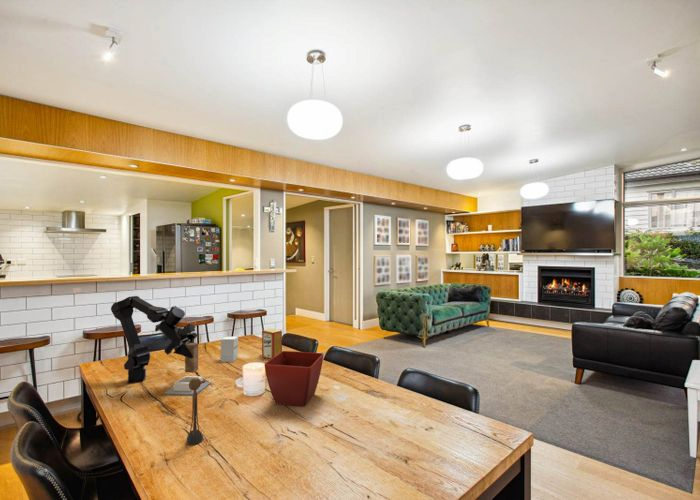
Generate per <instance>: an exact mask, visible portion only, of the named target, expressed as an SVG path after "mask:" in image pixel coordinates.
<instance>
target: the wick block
mask: <svg viewBox="0 0 700 500" xmlns="http://www.w3.org/2000/svg"><path fill="white" fill-rule="evenodd" d="M186 348H187V349H188V350H189V351H190V353H191V354H192V356H193V357H192V358H188V357H185V356H184V361H185V362H184V372H185V373H196V372H197V371H198V370H199V343H198V342H194V343H189V344H187V345H186Z"/></svg>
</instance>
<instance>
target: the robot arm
mask: <svg viewBox="0 0 700 500" xmlns="http://www.w3.org/2000/svg"><path fill="white" fill-rule="evenodd" d="M134 309H136V310H138V311H140V312H141V313H143V314H145V316H146V318H147V319H148V320H149V321H150V322H151V323H153V324H154V323H158V324H156V325H155V329H154V331H155V332H158V331H160V332H161V333H162V334H163V335H164V336H165V339H164V340H166V341H168V340H169V341H170V343H168V345H167V346H166V347H165V348H164V353H165V354H166V355H171V354H176V355H180V356H182V357H184V358H185V357H188V358H192V357H193V356H192V354H191V353H190V351H189V350H188V349H187V348H186V345H187V344H189V343H195V339H197V337H198V335H199V334H197V333H196V325H195V324H194V323H192V322H191V323H188V324H186V326H185V327H184V328H182V327H177V325H178V324H179V323H180V322H181V321H182V320H183V318H184V317H185V316H186V312H185V311H184V310H183V309H182V308H180V307H178V306H176V305H173V306H171V308H170V309H169V310H168V309H167V308H165V307H162V306H156V305H153V304H151V303H150V302H148V301H146V300H144V299H142V298H140V296H138V295H134V296H127V297H126V298H125V299H122V300H119V301H115V302H113V303H112V305H111V307H110V311H111V313H112V314H113V317H114V318H115V319H117V320H118V321H119V322H120V325H121V328H122V330H123V334H124V337H125V340H126V342H127V345H128V348H129V350H128V352H127V360H126V362H125V363H124V364H123V368H124V370H125V371H127V372H128V373H127V382H126V383H127V384H132V383H142V382H144V380H145V379H146V378H147V368H146V367H145V366H149V363H150V360H151V359H150V358H151V352H150V350H149V347H148V346H147V345H145V346H144V345H143V344H142V343H141V340H140V336H139V334H138V330H137V329H136V326H135V322H134V320H133V314H134V312H135V311H134ZM173 350H174V351H173Z"/></svg>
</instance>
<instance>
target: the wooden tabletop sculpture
mask: <svg viewBox="0 0 700 500" xmlns="http://www.w3.org/2000/svg"><path fill="white" fill-rule="evenodd" d="M205 382H207V381H206V379H205V378H203V380H200V379H199V378H193V379H192V380H191V381H190V382H189V388H190V390H194V393H192V395H191V398H192V404H191V405H192V406H191V409H192V411H191V424H190V430H189V433H188V434H187V437H186V441H185V442H186V444H187V445H189V446H194V445H198V444H200V443H202V442H203V440H204V434H203V433H202V431H201V430H200V425H199V417H198V413H199V412H198V394H199V393H197V392H196V390H197V389H199V387H200V385H201V384H202V383H205Z"/></svg>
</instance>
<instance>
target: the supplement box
mask: <svg viewBox="0 0 700 500" xmlns="http://www.w3.org/2000/svg"><path fill="white" fill-rule="evenodd" d="M237 359H239V336H224V337H223V338H221V339H220V363H234V362H235V361H236V360H237Z"/></svg>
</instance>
